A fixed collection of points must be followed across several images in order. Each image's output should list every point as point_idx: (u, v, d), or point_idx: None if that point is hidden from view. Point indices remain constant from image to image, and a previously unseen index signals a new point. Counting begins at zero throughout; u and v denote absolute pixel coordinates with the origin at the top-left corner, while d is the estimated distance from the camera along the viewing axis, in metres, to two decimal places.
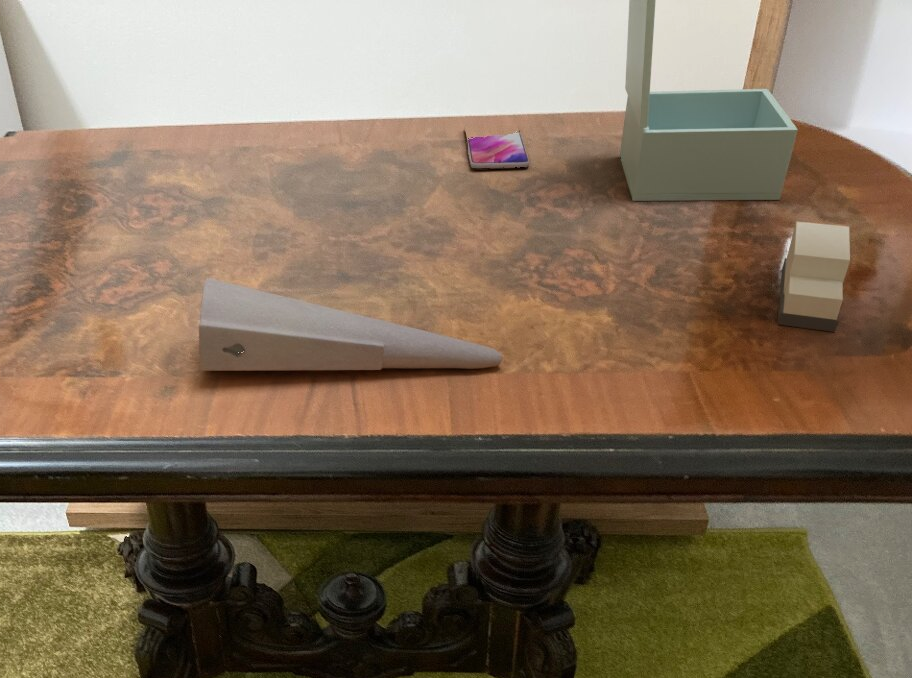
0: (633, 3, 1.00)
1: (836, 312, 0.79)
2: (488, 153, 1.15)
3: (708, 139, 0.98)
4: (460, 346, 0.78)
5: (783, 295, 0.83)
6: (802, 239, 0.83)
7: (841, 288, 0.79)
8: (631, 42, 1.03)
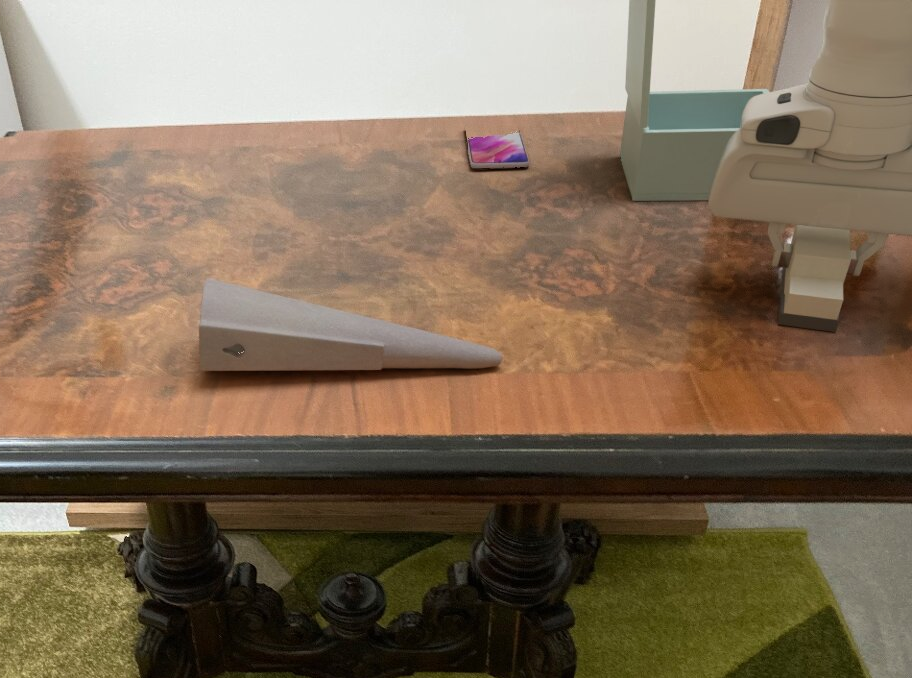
0: (633, 3, 1.00)
1: (837, 312, 0.79)
2: (488, 153, 1.15)
3: (708, 139, 0.98)
4: (460, 346, 0.78)
5: (783, 295, 0.83)
6: (802, 239, 0.83)
7: (842, 288, 0.79)
8: (631, 42, 1.03)
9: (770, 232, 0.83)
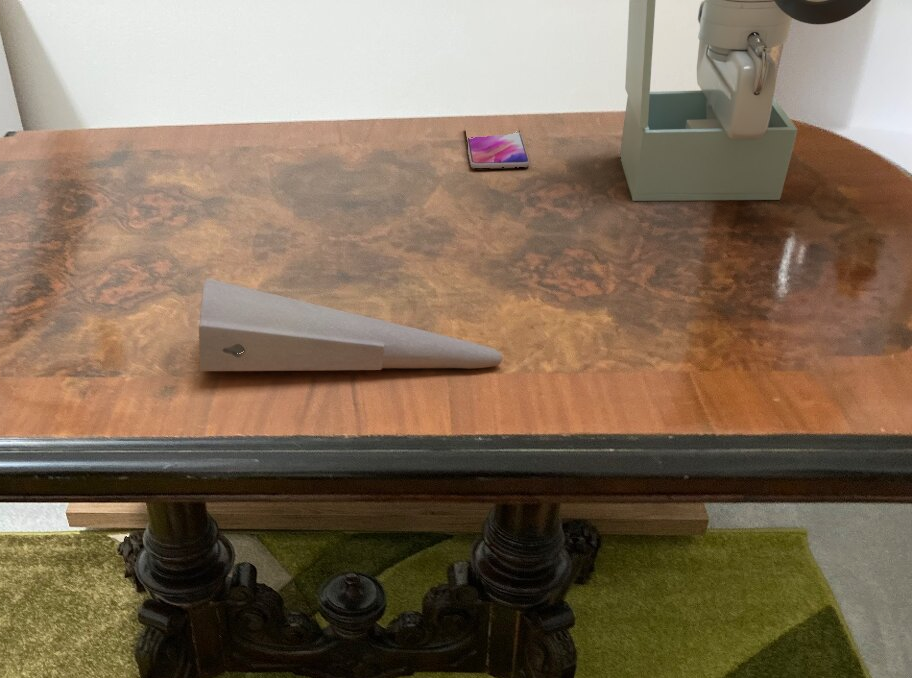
0: (633, 3, 1.00)
1: None
2: (488, 153, 1.15)
3: (708, 139, 0.98)
4: (460, 346, 0.78)
5: None
6: (716, 120, 1.05)
7: None
8: (631, 42, 1.03)
9: (706, 103, 1.08)
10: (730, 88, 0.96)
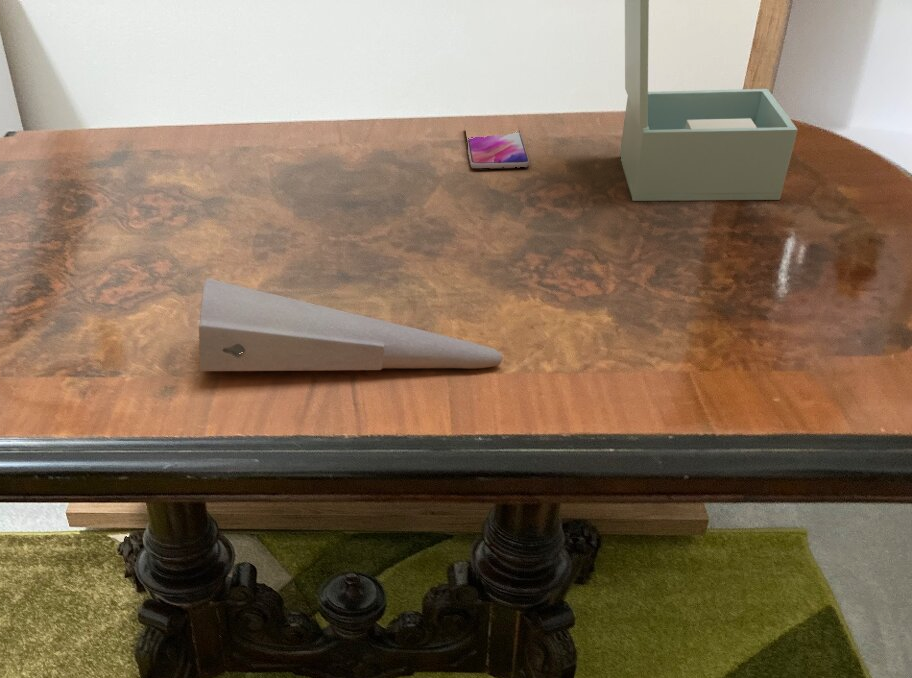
0: (628, 4, 1.00)
1: None
2: (488, 153, 1.15)
3: (708, 139, 0.98)
4: (460, 346, 0.78)
5: None
6: (716, 120, 1.05)
7: None
8: (628, 43, 1.03)
9: None
10: None
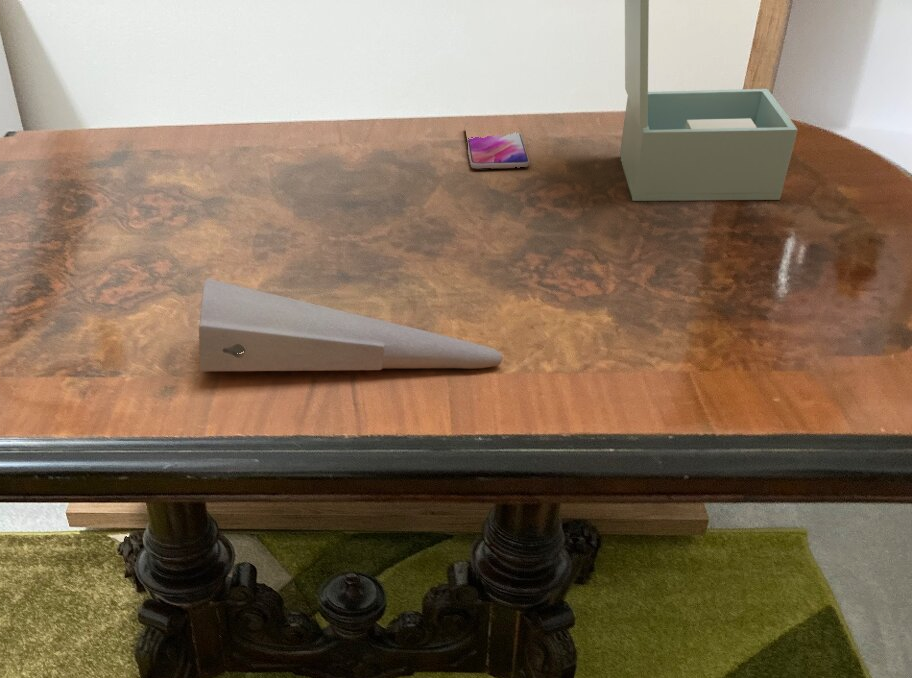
0: (628, 4, 1.00)
1: None
2: (488, 153, 1.15)
3: (708, 139, 0.98)
4: (460, 346, 0.78)
5: None
6: (716, 120, 1.05)
7: None
8: (628, 43, 1.03)
9: None
10: None
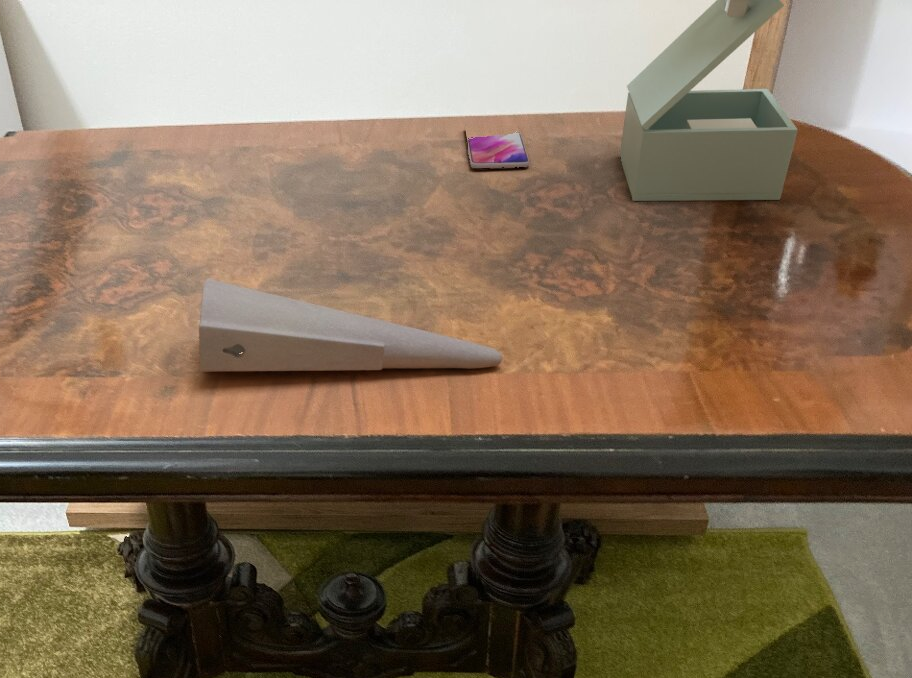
0: (706, 24, 1.00)
1: None
2: (488, 153, 1.15)
3: (708, 139, 0.98)
4: (460, 346, 0.78)
5: None
6: (716, 120, 1.05)
7: None
8: (674, 53, 1.03)
9: None
10: None
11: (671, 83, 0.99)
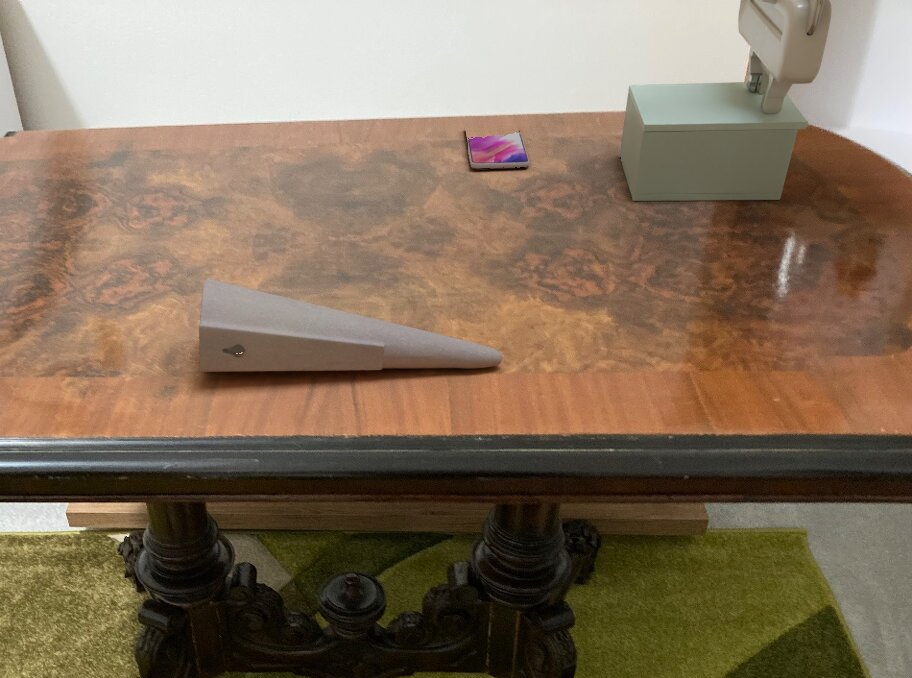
0: (726, 92, 1.04)
1: None
2: (488, 153, 1.15)
3: (708, 139, 0.98)
4: (460, 346, 0.78)
5: None
6: None
7: None
8: (689, 93, 1.05)
9: (749, 53, 1.03)
10: (780, 30, 0.92)
11: (683, 112, 1.00)
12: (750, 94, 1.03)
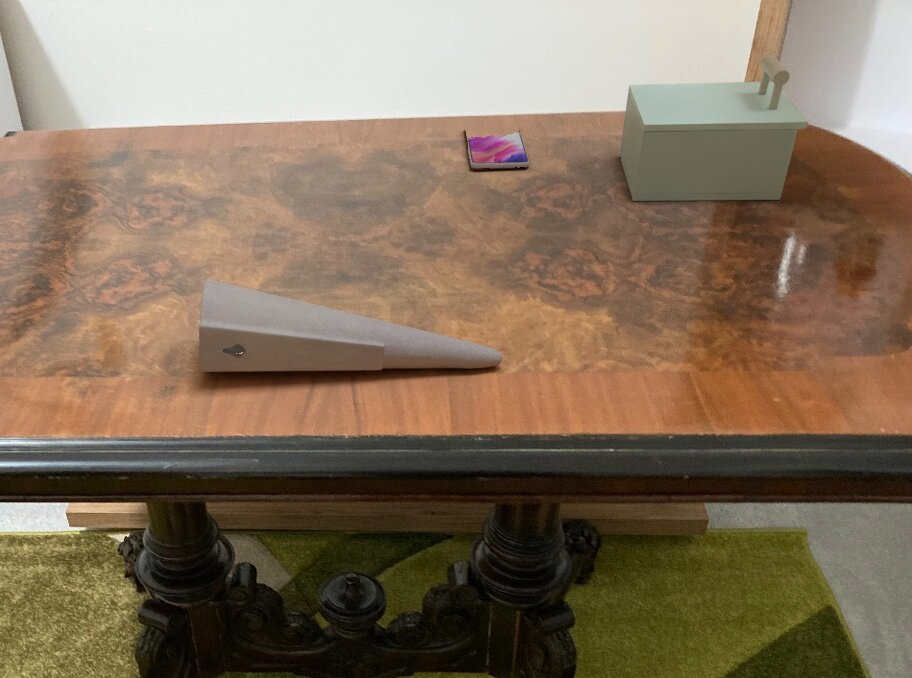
0: (726, 92, 1.04)
1: None
2: (488, 153, 1.15)
3: (708, 139, 0.98)
4: (460, 346, 0.78)
5: None
6: None
7: None
8: (689, 93, 1.05)
9: None
10: None
11: (683, 112, 1.00)
12: (750, 94, 1.03)
